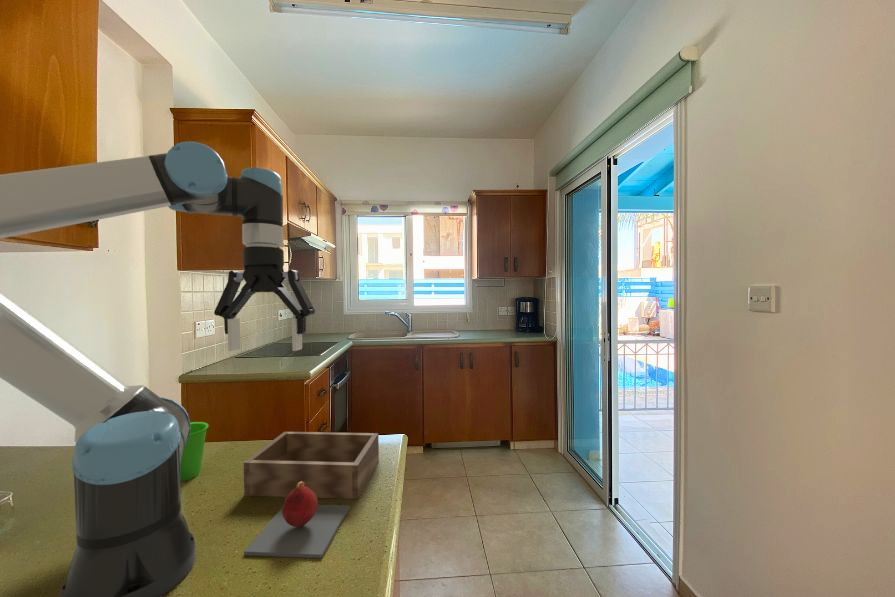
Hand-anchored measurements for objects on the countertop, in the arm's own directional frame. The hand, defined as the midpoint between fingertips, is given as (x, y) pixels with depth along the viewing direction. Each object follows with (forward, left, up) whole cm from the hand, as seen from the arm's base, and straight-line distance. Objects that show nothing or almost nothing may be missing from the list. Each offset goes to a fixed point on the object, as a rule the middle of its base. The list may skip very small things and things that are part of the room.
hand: (265, 350), depth 74 cm
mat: (+12, -10, -31) cm, 34 cm away
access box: (+7, +8, -31) cm, 32 cm away
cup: (-24, +7, -31) cm, 40 cm away
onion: (+12, -10, -30) cm, 34 cm away
